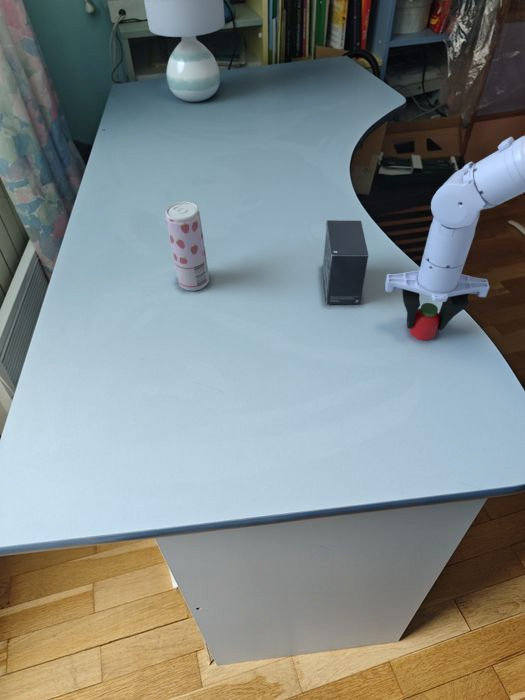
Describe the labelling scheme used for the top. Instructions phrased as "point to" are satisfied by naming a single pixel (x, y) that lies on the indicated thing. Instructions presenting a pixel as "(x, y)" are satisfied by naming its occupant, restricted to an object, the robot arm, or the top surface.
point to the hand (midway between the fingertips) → (424, 325)
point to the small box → (344, 262)
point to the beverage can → (187, 245)
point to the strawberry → (426, 322)
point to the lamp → (188, 44)
